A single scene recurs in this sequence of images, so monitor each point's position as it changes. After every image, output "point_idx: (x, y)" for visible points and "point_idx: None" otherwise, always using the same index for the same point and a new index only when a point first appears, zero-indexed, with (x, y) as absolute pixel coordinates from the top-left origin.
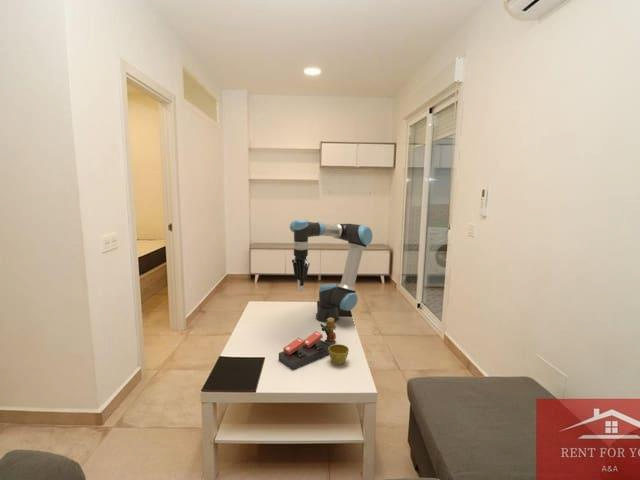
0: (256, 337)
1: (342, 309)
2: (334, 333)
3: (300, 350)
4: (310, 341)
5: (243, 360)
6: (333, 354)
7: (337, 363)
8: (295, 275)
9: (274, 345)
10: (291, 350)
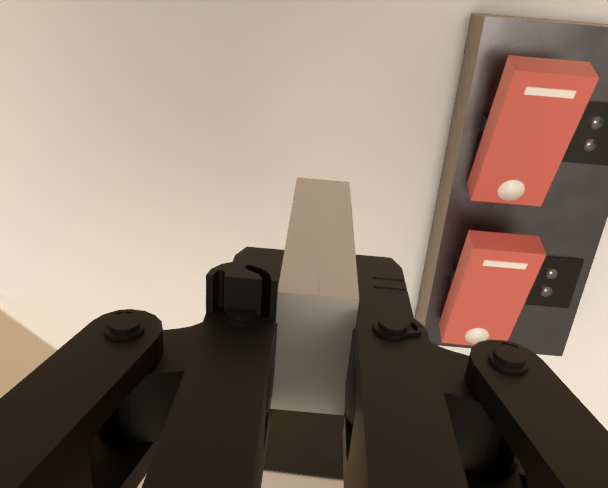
0: (91, 242)
1: None
2: None
3: None
4: (538, 176)
5: (286, 421)
6: None
7: None
8: (137, 468)
9: (257, 230)
10: (509, 333)
